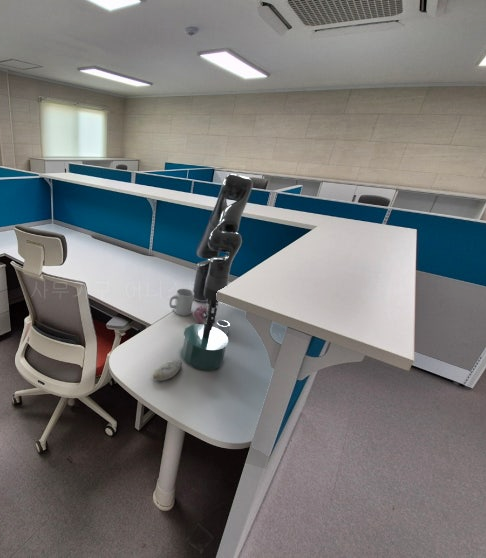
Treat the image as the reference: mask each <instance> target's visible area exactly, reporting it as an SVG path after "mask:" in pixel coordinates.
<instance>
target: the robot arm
mask: <svg viewBox="0 0 486 558" xmlns="http://www.w3.org/2000/svg"><path fill="white" fill-rule="evenodd" d="M253 185H254V181H253V179H252V178H249V177H248V176H247V177H246V176H243V175H239V174H234V173H228V174H227V175H226V176H225V178H224V180H223V181H222V184H221V187H220V189H219V193H218V196H217V199H216V202H215V205H214V207H213V210H212V212H211V214H210V215H209V219H208V221H207V224H206V226H205V229H204V232H203V234H202V236H201V238H200V239H199V241H198V243H197V246H196V256H197V257H198V258H200V259H206V260H203V261H200V262H198V263H197V265H196V271H195V277H194V284H193V288H192V289H193V290H191V291H192V292H193V293H194V297H193V301H196V302H198V303H206V309H207V312H206V315H205V319H206V323H205V324H206V330H210V331H211V330H212V327H214V326H213V325H214V324H216V317H217V314H218V313H217V312H218V308H219V301H217V300H216V293H217V291H218V290H220V289H222V288H224V287H225V286H227V287H228V284H229V278H230V277H229V276H230V272H231V267H232V264H233V261H234V259H235V257H236V255H237V253H238V252H239V251H240V248H241V246H242V244H243V243H242V242H243V239H242V235H241V234H240V233H239V232H238V231H239V228H240V224H241V220H242V216H243V213H244V211H245V208H246V206H247V204H248V201H249V198H250V196H251V193H252V190H253ZM227 199H229V200H233V201H234V202H232V203H230V204H229V205H228V201H227ZM220 253H226V254H224V255H220ZM219 255H220V256H219Z"/></svg>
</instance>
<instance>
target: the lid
mask: <svg viewBox="0 0 486 558" xmlns="http://www.w3.org/2000/svg"><path fill="white" fill-rule="evenodd" d="M183 337H184V338H185V339H186V340H187V342H189V343H190V344H191V345H193V346H194V347H196V348H199V349H202V350H207V351H219V350H222V349H224V348H227V347H228V345H229V338H228V336H227V335H225V334H224V333H223V332H222V331H220V330H219V329H217V328H215V326H212V330H211V331H210V330H206V323H205V324H201V323H199V324H198V323H197V324H191V325H189V326H187V327H186V328H185V329H184V330H183Z"/></svg>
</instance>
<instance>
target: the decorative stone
mask: <svg viewBox="0 0 486 558" xmlns="http://www.w3.org/2000/svg"><path fill="white" fill-rule="evenodd" d="M182 365H183V361H182V360H181V359H173V360H169V361H165V362H164V363H162V364H159V366H157V367H156V368H155V369H154V371H153V373H152V379H153V380H154V381H159V382H161V381H166V380H169V379H172V378H173V377H174V376H175V375H176V374H178V372H179V371H180V369H181V367H182Z"/></svg>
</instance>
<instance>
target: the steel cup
mask: <svg viewBox="0 0 486 558" xmlns="http://www.w3.org/2000/svg"><path fill="white" fill-rule="evenodd" d="M214 328H217V329H219V330H220V331H222V332H223V333H224V334H225V335H226V336H227V335H228V332H229V328H230V322H228V321H227V320H225V319H217V320H215V325H214Z"/></svg>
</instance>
